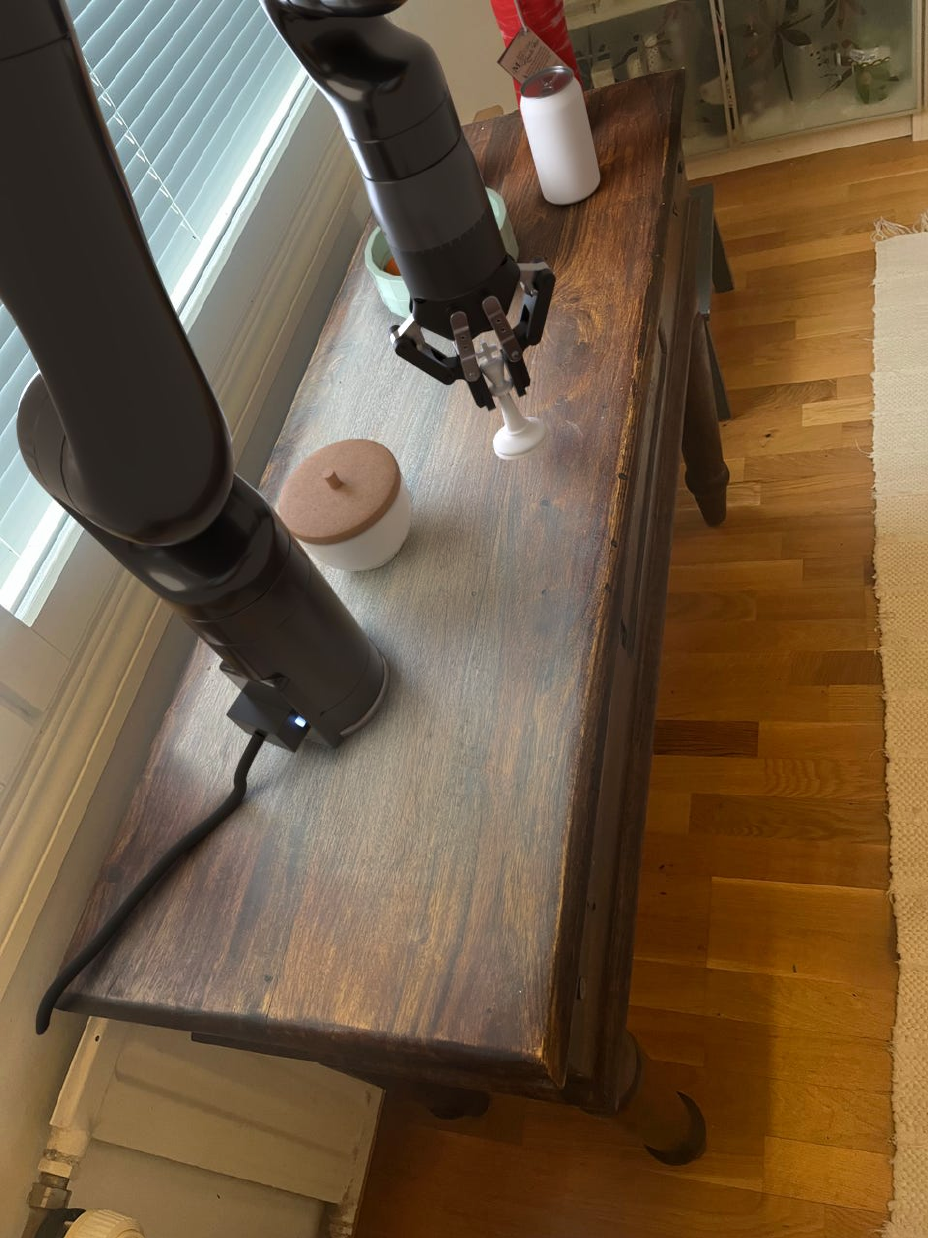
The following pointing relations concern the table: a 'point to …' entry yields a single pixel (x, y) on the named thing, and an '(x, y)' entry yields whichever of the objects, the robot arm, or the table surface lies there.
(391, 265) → the ball
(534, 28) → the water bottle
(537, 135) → the can
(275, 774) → the table surface
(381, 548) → the trinket box
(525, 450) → the chess piece
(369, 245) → the bowl
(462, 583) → the table surface
